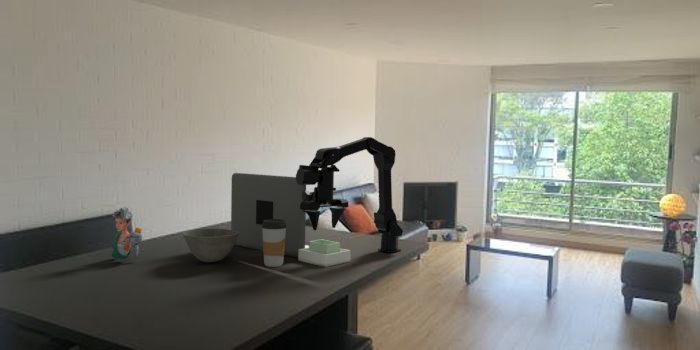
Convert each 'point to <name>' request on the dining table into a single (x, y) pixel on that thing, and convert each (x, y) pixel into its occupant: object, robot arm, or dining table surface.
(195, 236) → the bowl
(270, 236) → the coffee cup
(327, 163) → the robot arm
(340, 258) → the big crate
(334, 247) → the small crate
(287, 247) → the laptop
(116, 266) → the dining table surface
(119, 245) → the character figurine
